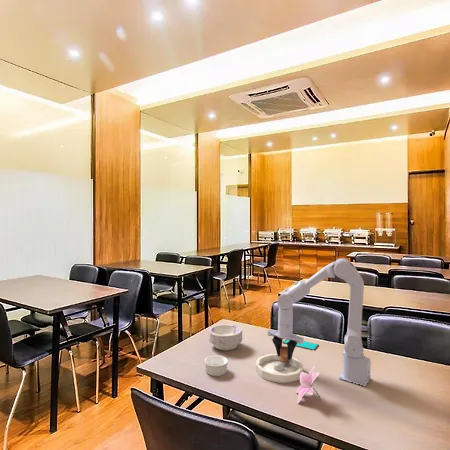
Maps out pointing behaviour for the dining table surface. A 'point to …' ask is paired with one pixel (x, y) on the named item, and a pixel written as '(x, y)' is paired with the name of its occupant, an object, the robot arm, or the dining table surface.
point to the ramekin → (216, 365)
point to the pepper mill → (284, 354)
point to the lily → (306, 384)
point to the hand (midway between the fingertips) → (284, 357)
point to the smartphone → (305, 345)
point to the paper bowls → (225, 336)
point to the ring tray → (275, 375)
